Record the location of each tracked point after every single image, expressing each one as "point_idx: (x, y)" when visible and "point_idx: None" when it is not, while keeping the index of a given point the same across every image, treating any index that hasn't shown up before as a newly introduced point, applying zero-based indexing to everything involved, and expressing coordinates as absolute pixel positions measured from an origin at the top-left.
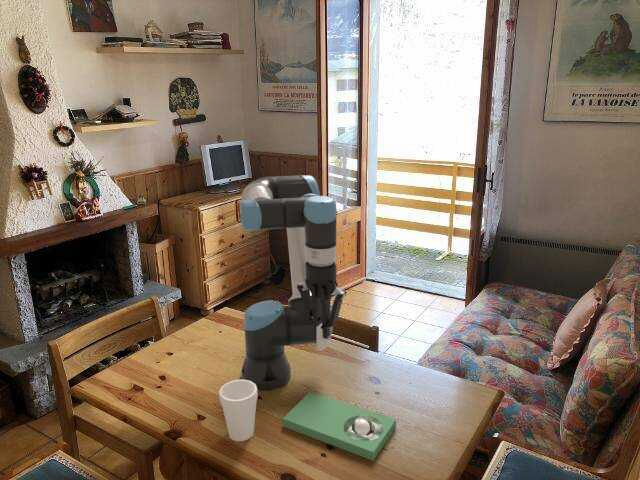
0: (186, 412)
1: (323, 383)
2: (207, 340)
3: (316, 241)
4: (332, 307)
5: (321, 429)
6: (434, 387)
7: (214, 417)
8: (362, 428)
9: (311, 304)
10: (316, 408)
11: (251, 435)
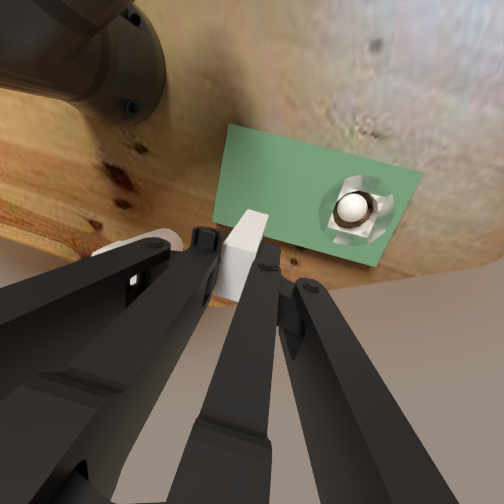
0: (70, 219)
1: (241, 49)
2: None
3: None
4: (322, 493)
5: (282, 234)
6: None
7: (112, 221)
8: (354, 221)
9: (82, 303)
10: (258, 179)
11: (182, 249)
